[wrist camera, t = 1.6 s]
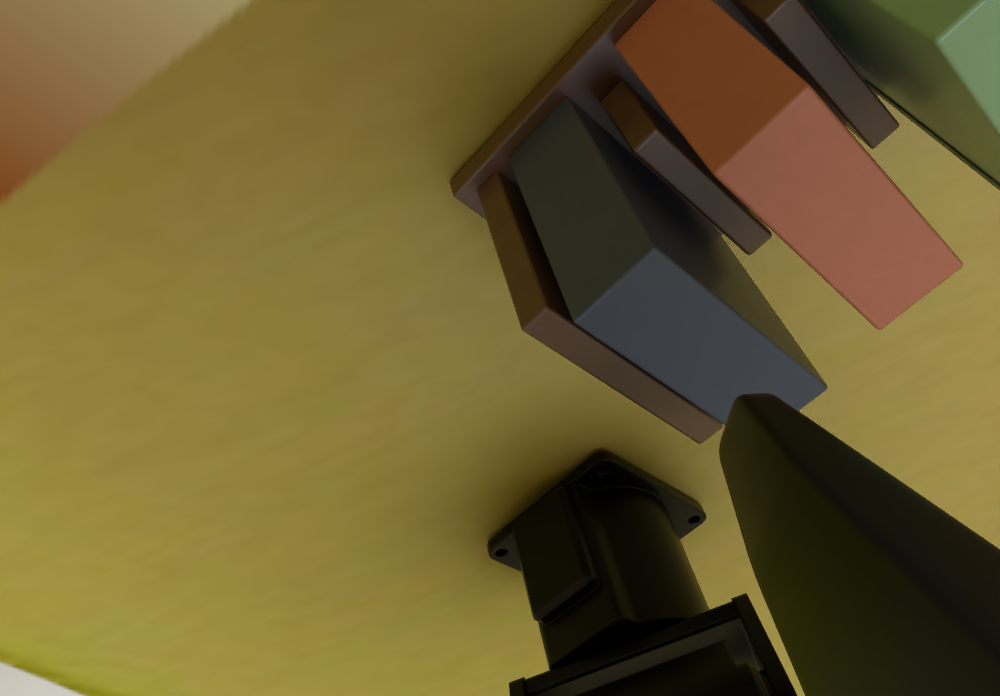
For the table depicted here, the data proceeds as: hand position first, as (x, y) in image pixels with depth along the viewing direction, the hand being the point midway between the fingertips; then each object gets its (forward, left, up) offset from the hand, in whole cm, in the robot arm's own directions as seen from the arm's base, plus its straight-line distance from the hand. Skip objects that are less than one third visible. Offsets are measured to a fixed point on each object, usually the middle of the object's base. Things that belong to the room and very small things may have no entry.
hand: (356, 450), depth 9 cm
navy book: (-9, -2, -13) cm, 16 cm away
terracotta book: (-9, -5, -13) cm, 16 cm away
